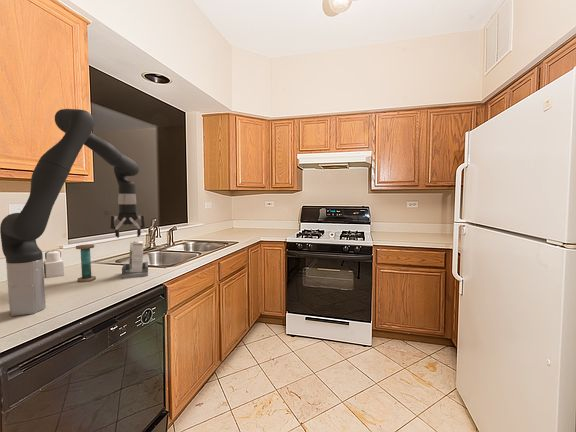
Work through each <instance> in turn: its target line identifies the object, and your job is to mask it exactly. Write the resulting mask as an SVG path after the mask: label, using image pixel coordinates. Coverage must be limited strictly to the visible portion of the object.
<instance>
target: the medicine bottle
mask: <svg viewBox="0 0 576 432" xmlns="http://www.w3.org/2000/svg"><path fill="white" fill-rule="evenodd" d="M43 271H44V278H46V279H49V278H56V277H63V276H65V275H66V274H65V262H64V260H63V259H62V251H60V250H49V251H46V252H45V253H44V260H43Z"/></svg>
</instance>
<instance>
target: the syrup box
mask: <svg viewBox="0 0 576 432" xmlns="http://www.w3.org/2000/svg"><path fill="white" fill-rule="evenodd" d="M128 262H129V263H128V264H129V273H134V272H142V266H143V262H144V241H142V240H141V241H140V240H133V241H130V246H129V261H128Z"/></svg>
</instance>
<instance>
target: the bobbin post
mask: <svg viewBox="0 0 576 432" xmlns="http://www.w3.org/2000/svg"><path fill="white" fill-rule="evenodd" d="M93 248H95V244H92V243H91V244H89V243H87V244H79V245H76V246H75V250H80V261H81V262H80V264H81V277H78V278H77V282H78V283H88V282H93V281H95V280H96V279H97V276H95V275H92V262H91V249H93Z"/></svg>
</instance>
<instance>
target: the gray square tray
mask: <svg viewBox="0 0 576 432" xmlns="http://www.w3.org/2000/svg"><path fill="white" fill-rule="evenodd" d="M142 277H143V278H144V277H149V262H148V261H145V262H144V261H143V266H142V272H134V273H129V263H124V264H123V265H122V267H121V279H132V278H134V279H135V278H142Z"/></svg>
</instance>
